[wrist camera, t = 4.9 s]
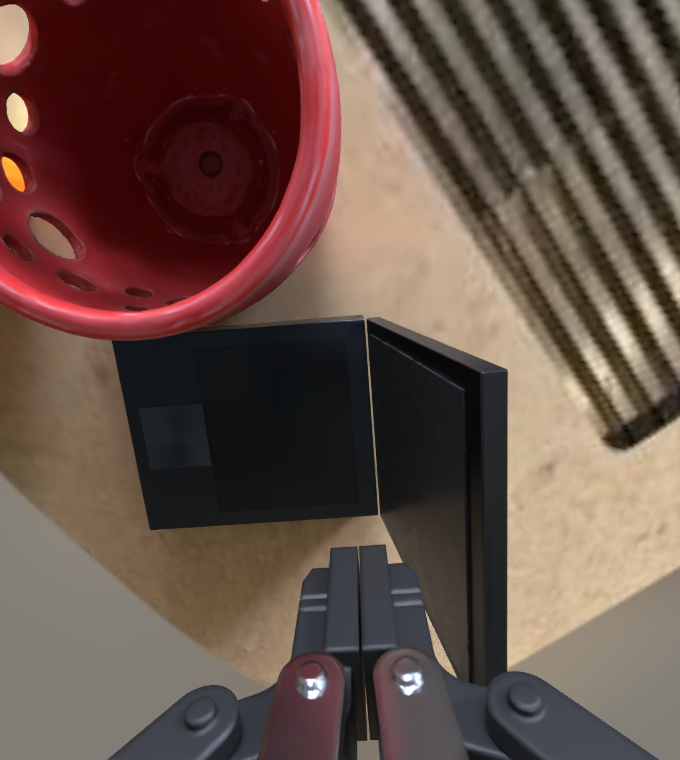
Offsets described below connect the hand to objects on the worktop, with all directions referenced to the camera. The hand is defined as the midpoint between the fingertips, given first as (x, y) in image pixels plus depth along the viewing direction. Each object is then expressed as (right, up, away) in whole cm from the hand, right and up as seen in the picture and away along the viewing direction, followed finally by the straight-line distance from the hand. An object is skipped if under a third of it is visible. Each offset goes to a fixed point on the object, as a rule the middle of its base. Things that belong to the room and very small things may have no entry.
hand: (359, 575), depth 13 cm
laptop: (-5, +3, +14) cm, 15 cm away
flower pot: (-7, +16, +11) cm, 20 cm away
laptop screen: (+2, +2, +6) cm, 7 cm away
